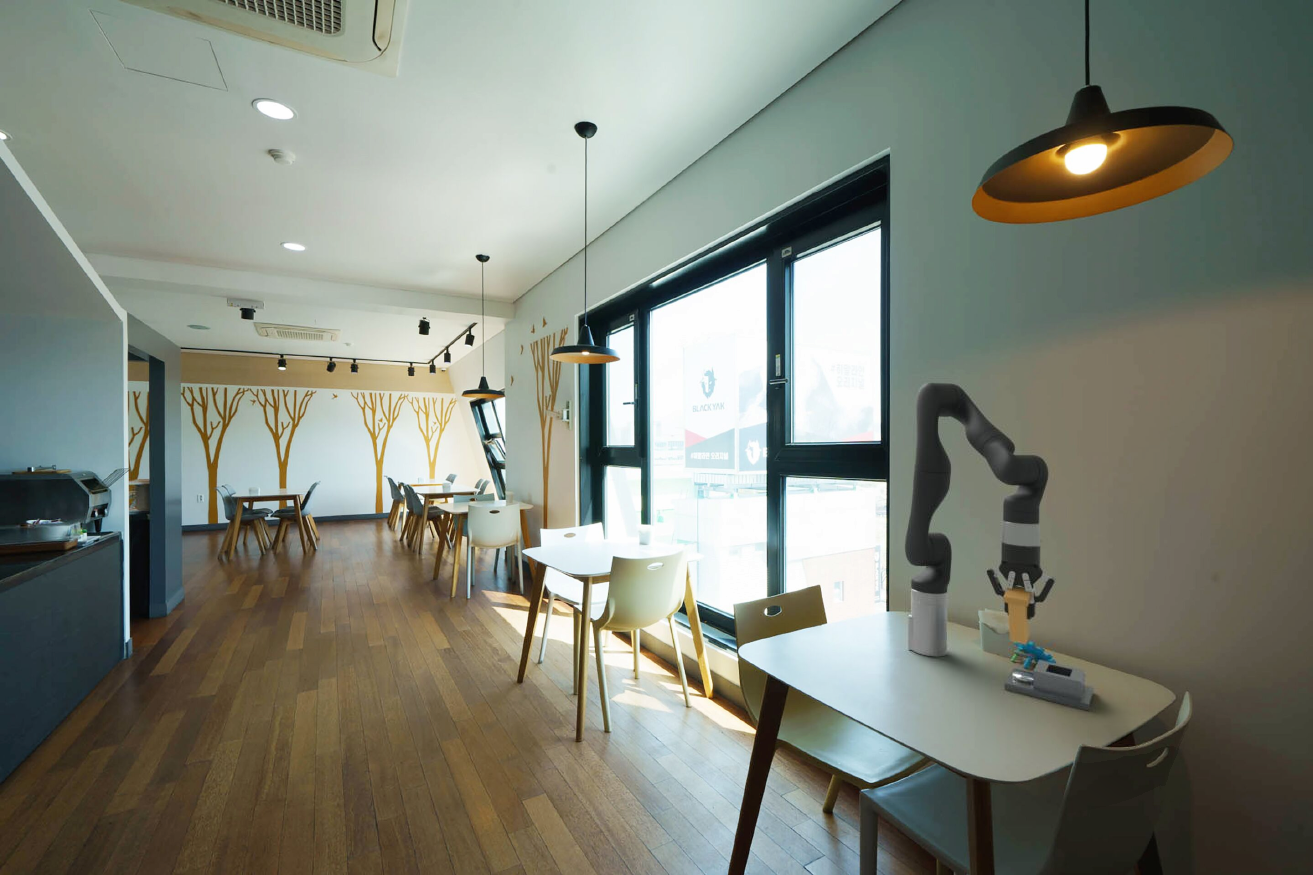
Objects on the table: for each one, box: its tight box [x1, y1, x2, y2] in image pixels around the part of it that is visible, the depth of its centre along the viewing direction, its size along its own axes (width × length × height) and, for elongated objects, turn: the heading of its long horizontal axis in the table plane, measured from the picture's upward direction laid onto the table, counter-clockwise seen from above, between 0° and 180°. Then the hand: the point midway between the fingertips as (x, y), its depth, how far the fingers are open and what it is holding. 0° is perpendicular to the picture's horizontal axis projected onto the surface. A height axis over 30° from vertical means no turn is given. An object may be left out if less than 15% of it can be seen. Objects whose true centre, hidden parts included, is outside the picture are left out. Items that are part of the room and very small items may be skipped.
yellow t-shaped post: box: [1002, 586, 1031, 644], centre depth 129 cm, size 5×6×11 cm
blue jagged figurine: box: [1010, 641, 1057, 669], centre depth 149 cm, size 11×6×10 cm
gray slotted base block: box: [1004, 660, 1094, 712], centre depth 134 cm, size 16×12×6 cm
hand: (1019, 616), depth 130 cm, fingers closed on yellow t-shaped post, 3 cm apart
